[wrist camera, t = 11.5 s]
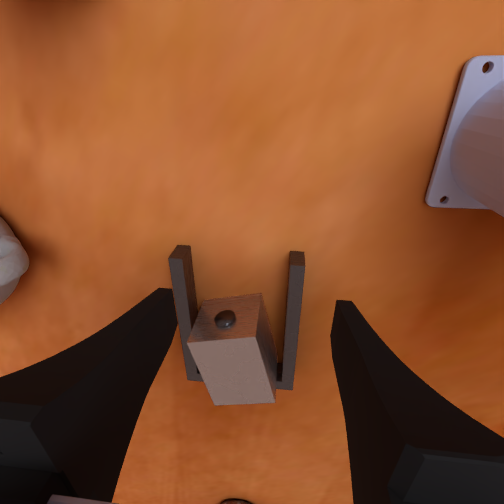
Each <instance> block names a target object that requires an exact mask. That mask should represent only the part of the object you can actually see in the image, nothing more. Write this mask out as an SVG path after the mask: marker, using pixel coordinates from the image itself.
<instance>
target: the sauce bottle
mask: <svg viewBox="0 0 504 504" xmlns="http://www.w3.org/2000/svg"><path fill="white" fill-rule="evenodd" d="M221 504H250V503H247V502H245V501H242V500H227V501H224V502H222V503H221Z"/></svg>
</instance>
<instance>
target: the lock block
mask: <svg viewBox="0 0 504 504" xmlns="http://www.w3.org/2000/svg"><path fill="white" fill-rule="evenodd" d="M187 345H188V347H189V349H190V351H191V354H192V356H193V358H194V360H195V363H196V365H197V367H198V369H199V371H200V374H201V376H202V378H203V380H204V383H205V385H206V387H207V389H208V391H209V394H210V396H211V398H212V400H213V403H214V405H235V404H257V403H275V399H276V377H277V355H278V354H277V350H276V346H275V342H274V339H273V335H272V331H271V327H270V323H269V320H268V316H267V312H266V308H265V305H264V301H263V297H262V293H256V294H248V295H240V296H231V297H223V298H215V299H207V300H204V301H203V303H202V306H201V308H200V311H199V313H198V316H197V318H196V321H195V323H194V326H193V328H192V331H191V333H190V336H189V339H188V341H187Z"/></svg>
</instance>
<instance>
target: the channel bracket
mask: <svg viewBox="0 0 504 504" xmlns="http://www.w3.org/2000/svg"><path fill="white" fill-rule="evenodd" d="M168 259H169V266H170V272H171V278H172V285H173V291H174V297H175V304H176V310H177V316H178V323H179V329H180V335H181V341H182V348H183V354H184V360H185V367H186V373H187V379H188V380H192V381H202V382H204V380H203V378H202V376H201V374H200V371H199V369H198V367H197V365H196V363H195V360H194V358H193V356H192V354H191V351H190V349H189V347H188V345H187V341H188V339H189V336H190V333H191V331H192V328H193V326H194V323H195V321H196V318H197V316H198V309H197V301H196V292H195V283H194V274H193V266H192V257H191V248H190V246H185V245H177V247H176V248H175V249H174V251H173V252H172V254H171V255H170V257H169V258H168ZM304 273H305V257H304V252H298V251H290V263H289V277H288V291H287V305H286V320H285V334H284V348H283V362H282V363H277V377H276V389H284V390H293V381H294V372H295V362H296V352H297V342H298V332H299V322H300V313H301V303H302V293H303V283H304Z"/></svg>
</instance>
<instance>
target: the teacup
mask: <svg viewBox="0 0 504 504" xmlns="http://www.w3.org/2000/svg"><path fill="white" fill-rule="evenodd" d="M29 264H30V263H29V258H28V255H27V253H26V251H25V250H24V248H23V247H22V246H21V243H20V241H19V240H18V239H17V238H16V237H15V235H14V233H13V231H12V230H11V229H10V227H9V226H8V224H7V223H6V222H5V221H4V220H3V219H2V218H1V217H0V304H1V303H3V302H4V301H5V300H6V299H7V298H8V297H9V296H10V295H11V294H12V292H13V291H14V290H15V288H16V286H17V284H18V282H19V279H20V276H21V275H23V274H24V273H25V272H26V271H27V269H28V267H29Z"/></svg>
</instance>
